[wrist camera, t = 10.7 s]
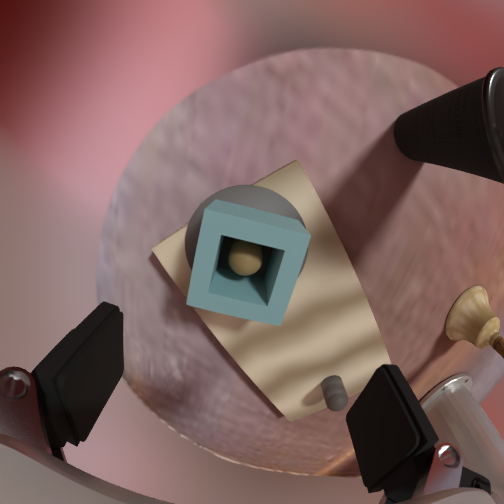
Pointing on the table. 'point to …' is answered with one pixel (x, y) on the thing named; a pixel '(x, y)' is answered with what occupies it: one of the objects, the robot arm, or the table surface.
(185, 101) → the table surface
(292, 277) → the collar
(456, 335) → the hand bell
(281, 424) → the table surface
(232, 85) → the table surface
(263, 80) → the table surface
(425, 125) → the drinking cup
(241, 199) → the base board
